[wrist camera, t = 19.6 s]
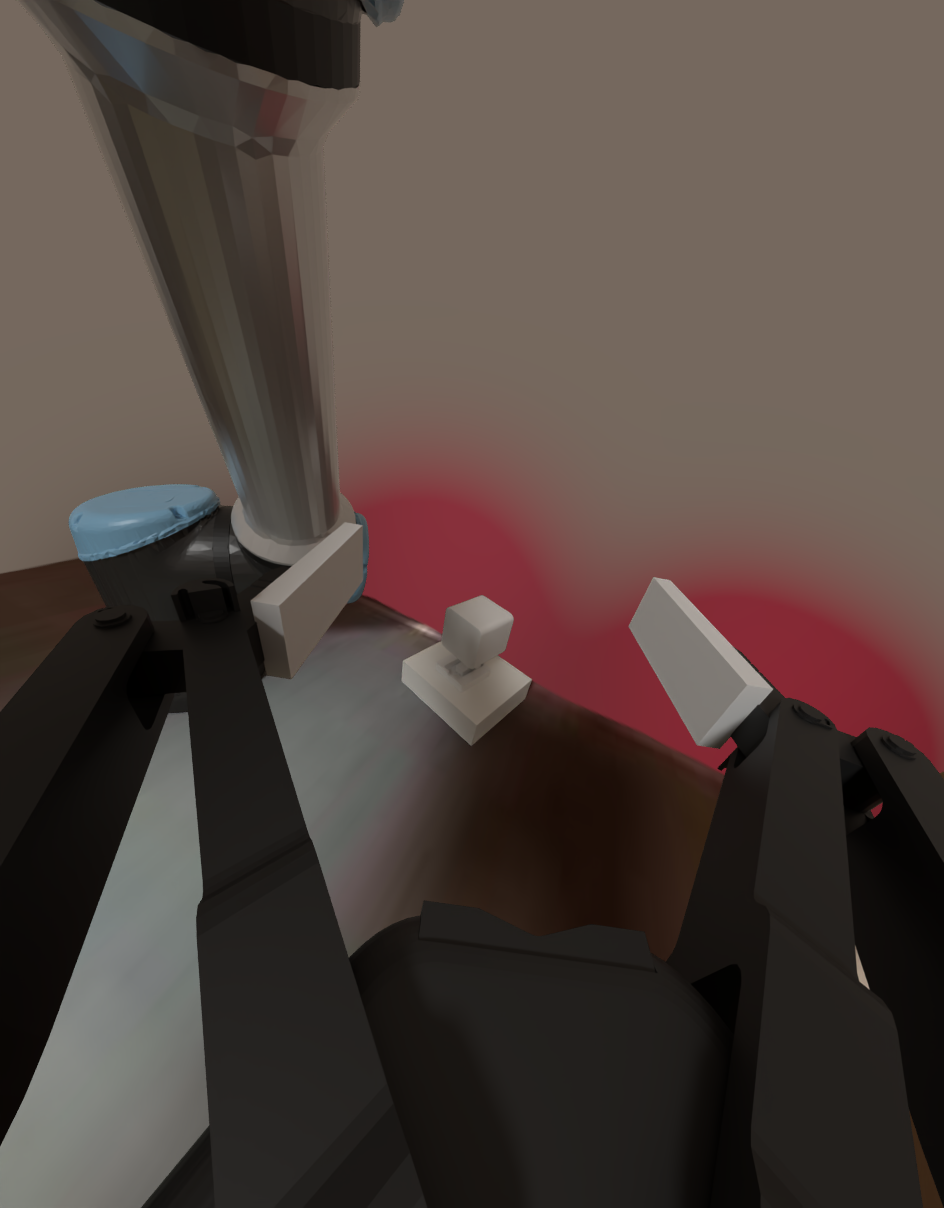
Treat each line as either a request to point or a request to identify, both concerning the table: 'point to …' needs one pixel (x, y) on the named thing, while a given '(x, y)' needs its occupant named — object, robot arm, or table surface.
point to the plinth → (465, 692)
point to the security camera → (473, 640)
